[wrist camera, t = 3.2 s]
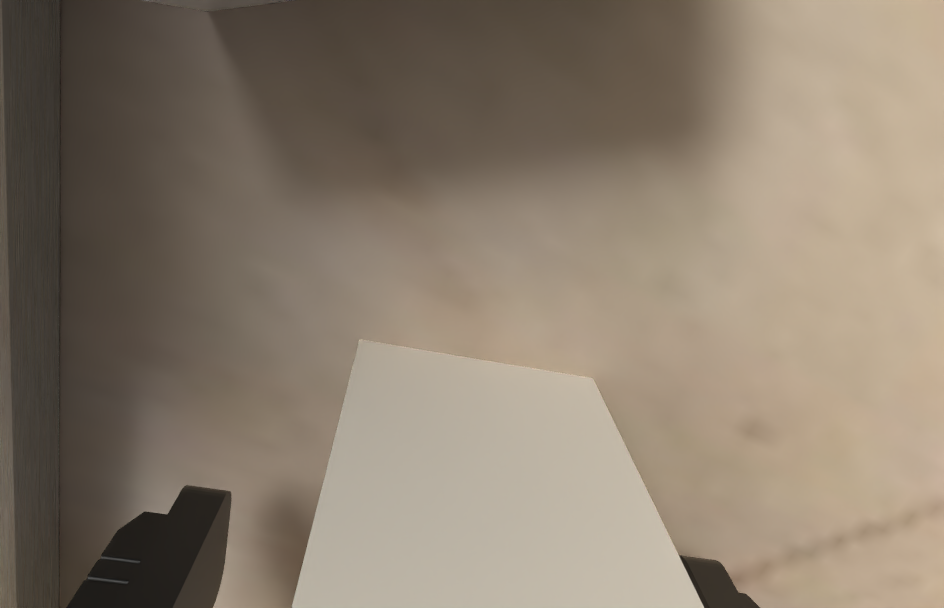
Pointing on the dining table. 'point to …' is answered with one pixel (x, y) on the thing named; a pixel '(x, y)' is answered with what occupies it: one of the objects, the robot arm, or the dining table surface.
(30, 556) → the rail board
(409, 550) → the block
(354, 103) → the dining table surface
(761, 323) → the dining table surface
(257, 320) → the dining table surface
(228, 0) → the block
